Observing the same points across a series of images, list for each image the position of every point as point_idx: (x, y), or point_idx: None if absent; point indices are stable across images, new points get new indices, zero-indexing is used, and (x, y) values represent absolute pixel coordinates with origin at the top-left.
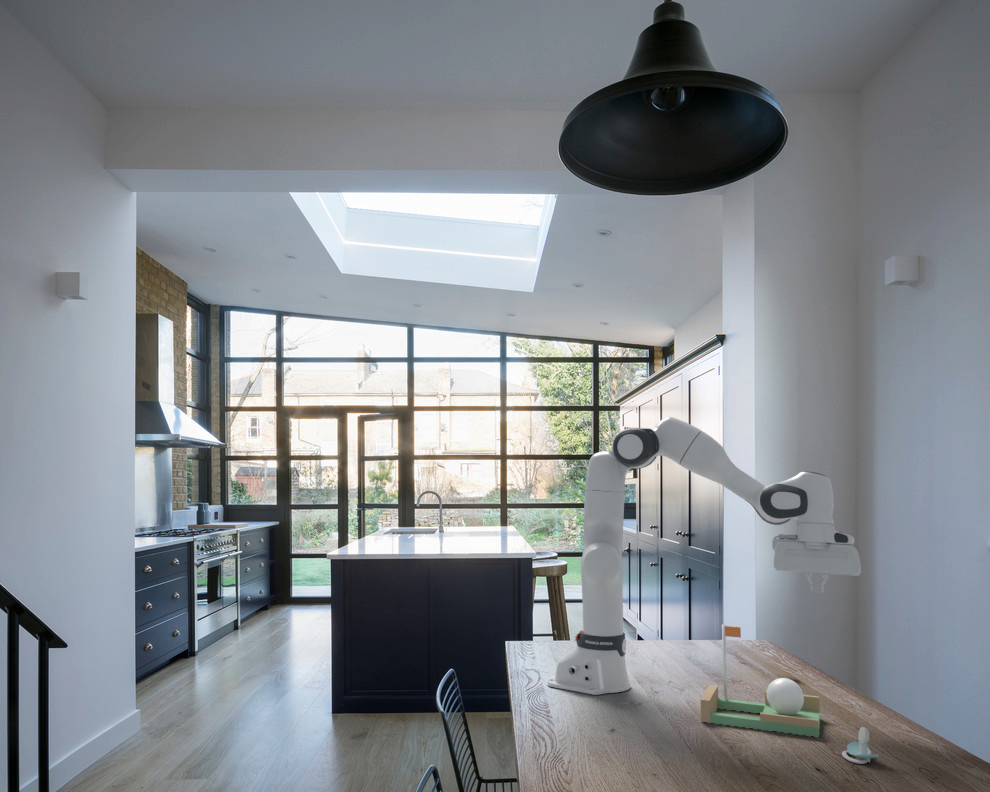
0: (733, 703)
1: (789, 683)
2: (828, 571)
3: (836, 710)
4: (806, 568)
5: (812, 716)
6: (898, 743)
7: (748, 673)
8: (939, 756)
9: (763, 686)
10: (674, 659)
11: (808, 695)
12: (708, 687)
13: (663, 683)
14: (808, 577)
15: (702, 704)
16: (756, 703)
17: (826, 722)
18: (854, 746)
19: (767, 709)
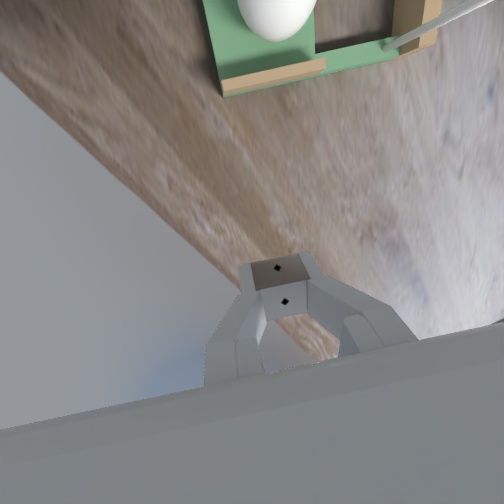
0: (370, 42)
1: None
2: (177, 413)
3: (215, 170)
4: (465, 376)
5: (221, 27)
6: (57, 7)
7: (353, 277)
8: None
9: (330, 231)
10: (444, 283)
11: (243, 86)
12: (439, 11)
13: (471, 155)
14: (365, 309)
15: None
16: (331, 62)
17: (208, 79)
18: None
19: (307, 24)
